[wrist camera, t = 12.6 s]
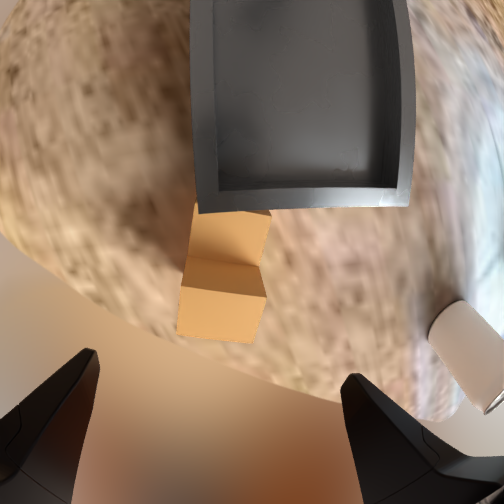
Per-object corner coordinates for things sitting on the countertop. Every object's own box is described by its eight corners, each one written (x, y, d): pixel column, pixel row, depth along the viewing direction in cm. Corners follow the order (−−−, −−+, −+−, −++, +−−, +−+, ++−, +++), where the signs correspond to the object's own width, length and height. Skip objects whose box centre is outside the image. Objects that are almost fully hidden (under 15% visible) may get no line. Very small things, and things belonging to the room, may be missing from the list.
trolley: (201, -23, 10) (195, -81, 4) (342, -13, 11) (392, -52, 5) (207, 191, 16) (200, 231, 11) (348, 186, 17) (406, 221, 11)
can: (443, 298, 23) (512, 377, 12) (474, 297, 24) (535, 362, 14) (417, 346, 26) (469, 426, 15) (450, 341, 27) (499, 407, 16)
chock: (243, 283, 20) (252, 343, 14) (186, 275, 19) (176, 334, 14) (263, 200, 17) (284, 239, 12) (199, 189, 16) (188, 223, 11)
